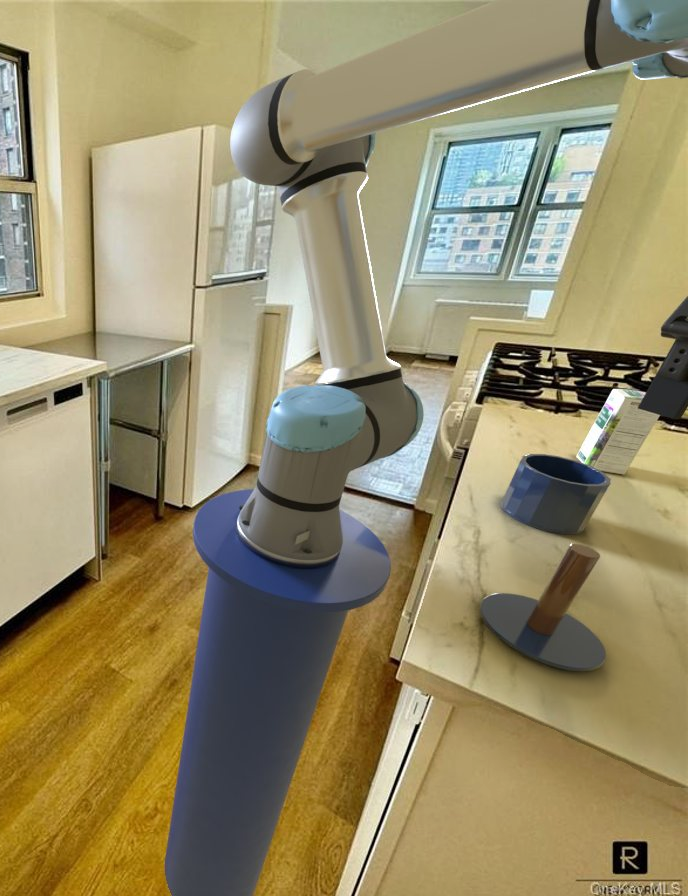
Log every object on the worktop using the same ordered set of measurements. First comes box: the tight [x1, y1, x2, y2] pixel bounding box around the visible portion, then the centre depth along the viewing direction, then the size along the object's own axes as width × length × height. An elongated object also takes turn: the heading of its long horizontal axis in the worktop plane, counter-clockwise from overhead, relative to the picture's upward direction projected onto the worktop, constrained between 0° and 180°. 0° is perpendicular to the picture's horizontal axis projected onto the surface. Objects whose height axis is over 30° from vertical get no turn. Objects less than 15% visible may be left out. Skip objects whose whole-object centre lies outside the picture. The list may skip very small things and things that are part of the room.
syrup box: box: [576, 388, 661, 475], centre depth 89 cm, size 6×6×14 cm
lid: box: [478, 543, 607, 672], centre depth 53 cm, size 11×11×12 cm
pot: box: [500, 453, 611, 535], centre depth 75 cm, size 10×10×8 cm
